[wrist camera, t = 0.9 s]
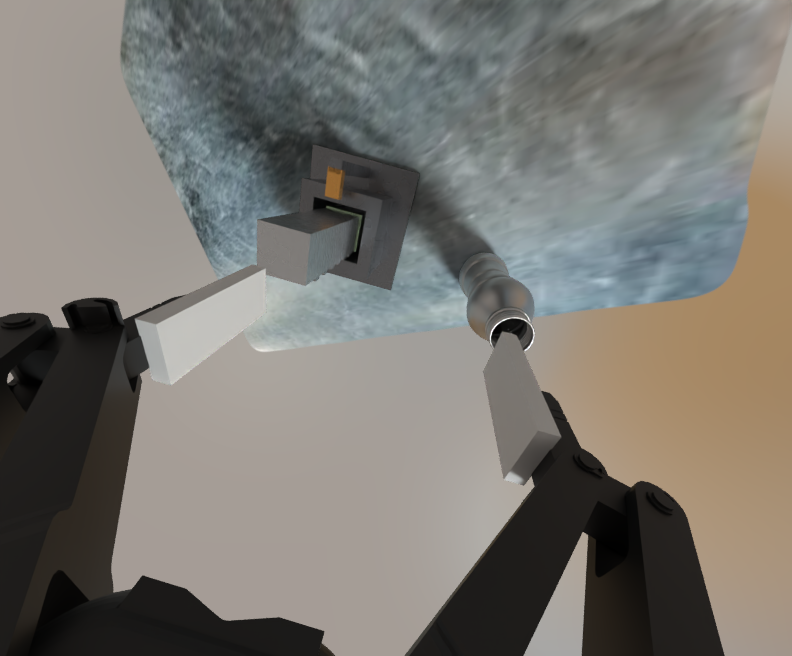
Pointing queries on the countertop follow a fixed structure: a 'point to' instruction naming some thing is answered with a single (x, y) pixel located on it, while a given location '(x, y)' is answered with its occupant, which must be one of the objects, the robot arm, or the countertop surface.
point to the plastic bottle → (496, 300)
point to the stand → (364, 209)
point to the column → (308, 242)
